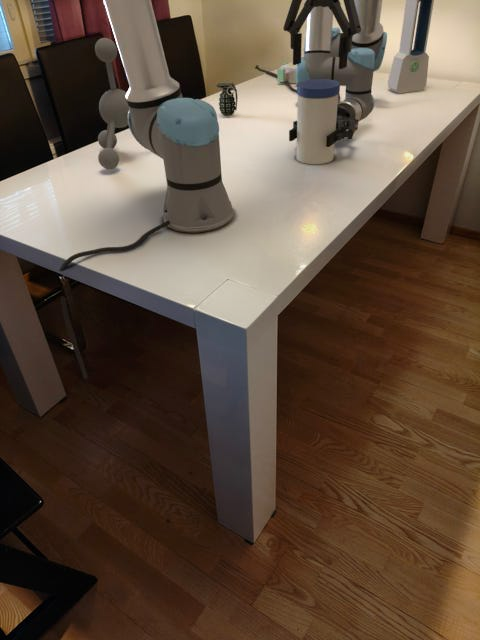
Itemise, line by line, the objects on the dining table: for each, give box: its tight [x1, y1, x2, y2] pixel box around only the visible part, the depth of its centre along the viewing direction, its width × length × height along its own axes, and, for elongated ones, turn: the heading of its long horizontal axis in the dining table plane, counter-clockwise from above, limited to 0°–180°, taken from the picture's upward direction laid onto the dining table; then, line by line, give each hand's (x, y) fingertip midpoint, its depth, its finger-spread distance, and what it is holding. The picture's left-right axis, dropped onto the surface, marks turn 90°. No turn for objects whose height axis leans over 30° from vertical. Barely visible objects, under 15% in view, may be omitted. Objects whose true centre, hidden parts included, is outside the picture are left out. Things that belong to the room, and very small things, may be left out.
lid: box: [296, 79, 341, 98], centre depth 122 cm, size 11×11×2 cm
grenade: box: [215, 82, 238, 117], centre depth 166 cm, size 7×6×10 cm
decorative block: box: [276, 61, 297, 85], centre depth 205 cm, size 26×6×20 cm
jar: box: [295, 94, 338, 165], centre depth 128 cm, size 10×10×18 cm
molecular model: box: [94, 37, 129, 170], centre depth 132 cm, size 24×22×30 cm
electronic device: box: [387, 0, 435, 94], centre depth 176 cm, size 12×8×30 cm, turn 105°
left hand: (319, 66), depth 119 cm, fingers open, 12 cm apart
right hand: (308, 138), depth 127 cm, fingers closed on jar, 10 cm apart
